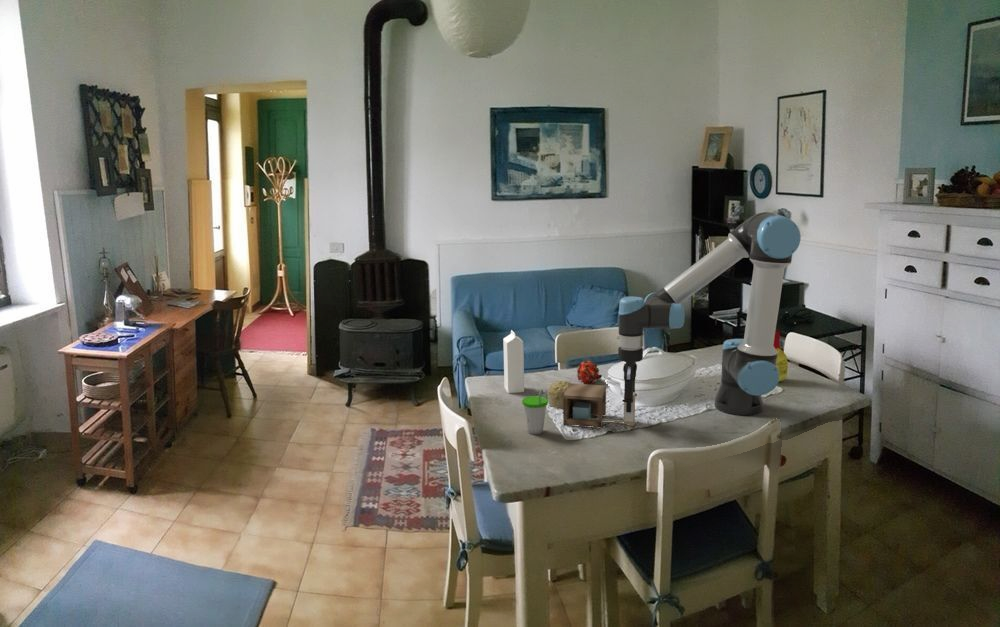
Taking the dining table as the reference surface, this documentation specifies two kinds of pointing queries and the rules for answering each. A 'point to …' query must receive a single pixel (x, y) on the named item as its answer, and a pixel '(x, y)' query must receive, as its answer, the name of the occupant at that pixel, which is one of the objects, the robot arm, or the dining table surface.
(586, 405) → the tethered block
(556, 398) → the decorative item
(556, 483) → the dining table surface
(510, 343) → the milk
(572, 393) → the brown wooden box
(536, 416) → the cup
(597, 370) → the dragon fruit
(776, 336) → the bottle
